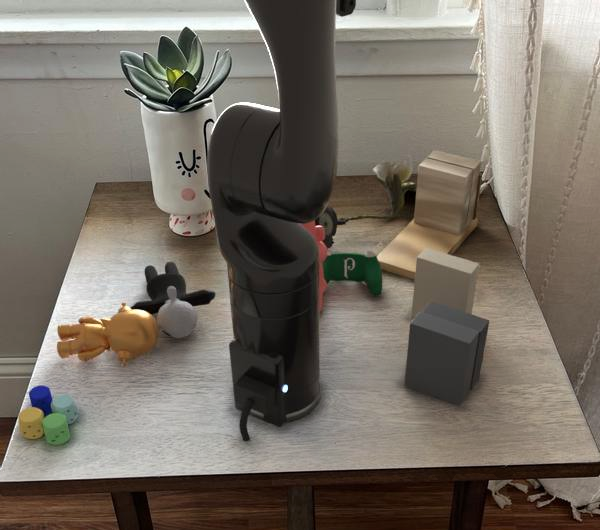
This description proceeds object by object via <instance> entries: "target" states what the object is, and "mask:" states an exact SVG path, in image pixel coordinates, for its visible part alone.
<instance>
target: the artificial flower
mask: <svg viewBox="0 0 600 530" xmlns="http://www.w3.org/2000/svg"><path fill="white" fill-rule="evenodd" d="M413 167H414V166H413V160H412V158H411V155H409V154H408V156H407V157H406V158H405V159H404V160H403V161H401V162H391V161H390V160H383V161H381V162H379V163H378V164H377V165H376V166H375V167H374V168H372V170H373V172H374V173H375V175H376V176H377V177H376V180H377V181H378V182H379V183H380V184H381V185H382V186H383V187H384V189H385V190H386V194H387V196H388V198H389V199H388V202H389V203H390V209H391V211H390V213H391V214H386V215H381V214H380V215H379V214H377V215H376V214H375V215H372V214H365V215H363V214H362V215H361V214H358V215H355V216H351V217H340V218H338V216H337V213H336V211H335V210H334V208H333V207H332V206H330V204H328V205H327V207H326V209H325V211H324V212H323V213H322V215H321V216H320V217H319V218H317V219H316V220H315V226H323V227H324V231H325V239H324V240H323V241H322V242H323V243H324V244H325V246H326V247H327V249H331V248H333V245H334V244H335V241H334V238H333V237H335V236H336V233H337V229H338V226H345V225H347V223H348V222H349V221H358V220H363V219H372V220H373V219H374V220H376V219H377V220H387V219H388V220H389V219H392V218H394V217H395V215H397V214H398V212H399V211H400V210H401V209H402V208H403V207H404V205H405V194H406V192H408V191H417V182H411V181H410V182H407V181H408V180H409V179H410V177H411V175H412V173H413V169H414V168H413Z"/></svg>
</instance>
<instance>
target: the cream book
mask: <svg viewBox="0 0 600 530" xmlns="http://www.w3.org/2000/svg"><path fill="white" fill-rule="evenodd" d="M479 269H480V263H478V262H475V261H472V260H469V259H466V258H462V257H459V256H455V255H453V254H452V255H449V254H445V253H442V252H439V251H435V250H432V249H429V248H425V249H424V250H423V251H422V252H421V253H420V254H419V256H418V257H417V261H416V272H415V280H414V285H413V295H412V306H411V315H410V317H411V318H412V319H414V318H415V317H416V316H417V314H418V313H419V312H423V310H424V309H425V308H426V307H427V306H428V304H429V303H430V302H431V301H432V302H435V303H438V304H442V305H445V306H448V307H451V308H454V309H457V310H460V311H463V312H466V313H469V314H472V315H473V308H474V302H475V296H476V289H477V282H478V276H479Z"/></svg>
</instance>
